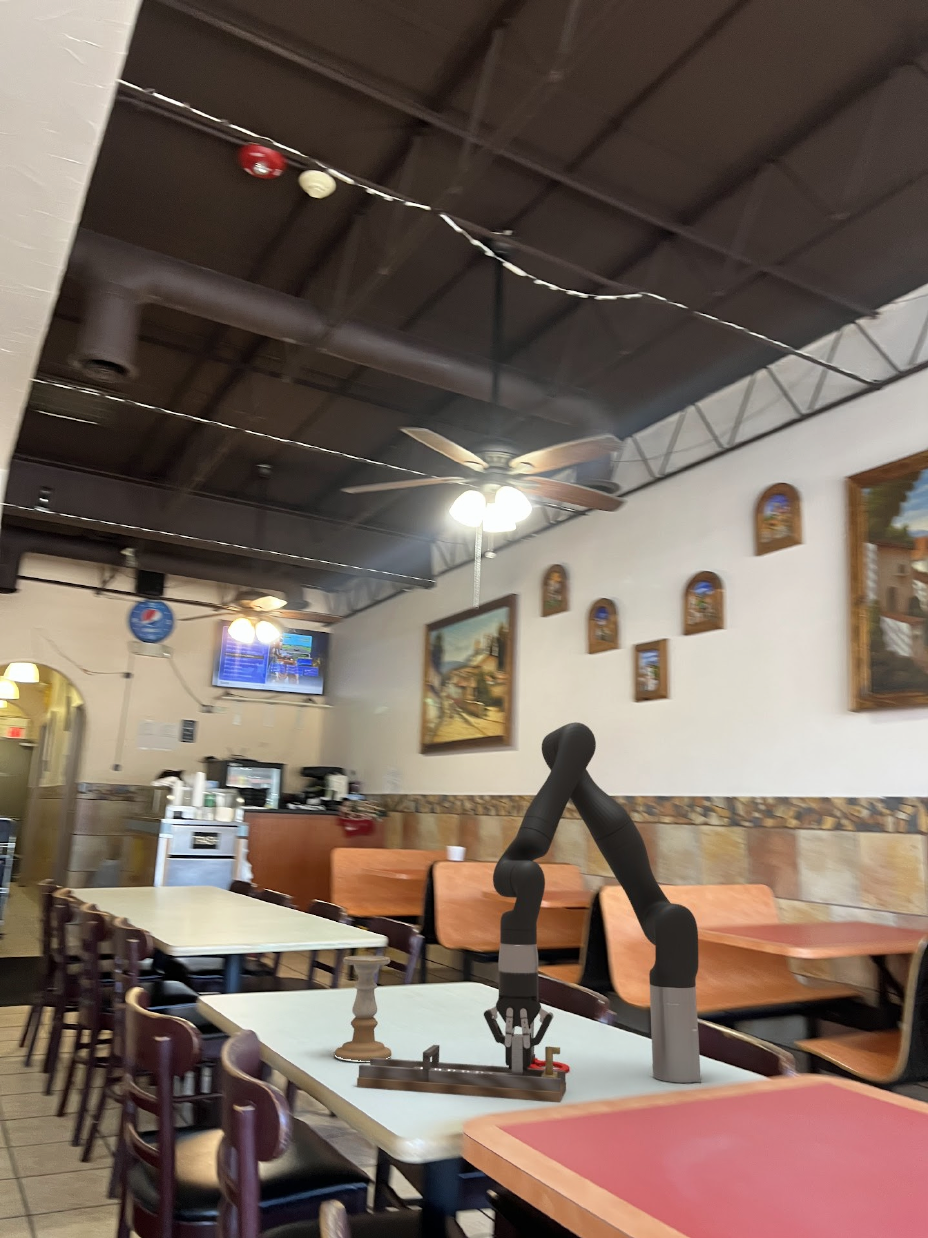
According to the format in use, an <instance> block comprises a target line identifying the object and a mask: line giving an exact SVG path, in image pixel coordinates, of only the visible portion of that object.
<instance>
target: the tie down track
mask: <svg viewBox="0 0 928 1238" xmlns="http://www.w3.org/2000/svg"><path fill="white" fill-rule="evenodd" d="M544 1052H545V1053H544V1055H545V1056H544V1057H545V1060H544V1061H545V1066H544V1068H545V1069H533V1068H528V1070H525V1076H520V1075H505V1074H491V1073H477V1072H462V1071H448V1070H433V1069H430V1068H441V1069H455V1070H469V1071H471V1070H472V1071H483V1072H485V1071H487V1072H498V1073H499V1072H501V1073H512V1069H509V1066H501V1065H488V1064H487V1065H486V1064H485V1065H483V1064H471V1063H469V1064H468V1063H457V1062H441V1061H440V1044H433V1045H431V1046H430V1047H428V1048H427V1049H426V1050H424V1051H423V1052H422V1060H413V1059H412V1060H411V1059H410V1060H409V1059H408V1060H407V1059H396V1058H389V1059H384V1058H371V1059H370V1062H369V1064H359V1065H358V1077H356V1087H357V1088H365V1089H366V1088H367V1089H379V1090H380V1089H381V1090H391V1091H392V1090H394V1091H406V1092H418V1093H420V1092H421V1093H422V1092H423V1093H433V1094H434V1093H435V1094H447V1095H460V1096H462V1095H463V1096H474V1097H484V1098H486V1097H487V1098H499V1099H513V1100H525V1101H539V1102H550V1103H551V1102H552V1103H554V1102H555V1103H561V1101H562V1099H563V1097H564V1095H565V1093H566V1092H567V1081H566V1076H567V1075H566V1073H565V1071H562V1070H553V1069H554V1067H553V1061H554V1055H560V1054H561V1047H558V1046H557V1047H556V1046H545V1047H544ZM414 1067H422V1069H419V1068H414Z"/></svg>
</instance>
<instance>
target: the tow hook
mask: <svg viewBox="0 0 928 1238" xmlns="http://www.w3.org/2000/svg"><path fill="white" fill-rule="evenodd" d="M534 1030H535V1020H534V1021H533V1022H532V1024H531V1036H532V1038H534V1037H535V1036H534V1032H535V1031H534ZM528 1068H533V1069H545V1060H541V1059H538V1058H537V1057H536V1054H535V1046H533V1047H532V1063H531V1066H530V1067H528ZM570 1068H571V1067H570V1066H569V1065H568V1064H566V1063H564V1062H563V1063H562V1062H560V1061H554V1060H553V1070H562V1071H565V1074H568V1073H570Z"/></svg>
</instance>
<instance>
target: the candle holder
mask: <svg viewBox="0 0 928 1238" xmlns="http://www.w3.org/2000/svg"><path fill="white" fill-rule="evenodd" d="M390 962H391V958H390V957H388V956H383V955H380V956H379V955H351V956H345V957H343V964H346V965H349V966H353V967H354V970H355V972H356V974H357V976H358V979H357V981H356V983H354V985H353V986H354V988H355V990H356V996H355V999H354V1002H353V1006H352V1014H353V1015H354V1018H352V1020H351V1021H350V1025H351V1027H352V1028H353V1033H352V1039H351V1040H349V1041H346V1042H344V1043H342V1046H339V1047H337V1048H336V1049H335V1050H334V1053H335V1055H336V1056H337V1057H341V1058H343V1059H351V1060H358V1061H360V1060H361V1061H370V1059H371V1058H384V1059H386V1058H388V1057H390V1056H391V1057H392V1050H391V1048H389V1047H387V1046H385V1043H383V1042H381V1041H377V1040H376V1039H375V1038H376V1037H375V1028H377V1026H378V1024H379V1023H378V1020H377V1019H376V1018H375V1016H376V1015H377V1014H378V1006H377V1001H376V994H375V989H377V988H378V985H377V983H376V982H375V979H374V978H375V974H376V973H377V972H378V971H379V968H380V967H381V966H384V965H385V966H386V965H388V964H390ZM391 1057H390V1058H391Z"/></svg>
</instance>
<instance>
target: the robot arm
mask: <svg viewBox="0 0 928 1238" xmlns="http://www.w3.org/2000/svg"><path fill="white" fill-rule="evenodd" d="M596 748H597V741H596V737H595V734H594V732H593V730H591V729H590V727H589V726H587V725H585V724H584V723H581V722H570V723H567V724H564V725H563V726H561V727H558V728H556V729H555V730H554V731H551V732H550V733H547V734H546V735H545V736H544V737H543V740H542V743H541V754H542V757H543V760H544V761H545V764H546V765H547V767H548V768H549V771H550V773H549V774H548V776H547V778H546V779H545V781H544V783H543V785H542V786H541V787H540V789H539V790H538V792H537V794H536V795H535V796H534V798H533V799H532V801H531V803H530V804H529V806H528V808H527V809H526V811H525V814H524V815H523V817H522V821H521V824H520V826H519V828H518V831H517V834H516V836H515V837H514V839H513V840H512V841H511V843H510V844H509V845H508V847H507V848H506V849H505V851H504V852H503V853H502V855H501V856H500V858H499V859H498V861H497V862H496V865H495V867H494V870H493V874H492V884H493V887H494V889H495V892H496V893H497V894H498V895H500V897H501V896H502V897H504V898H515V902H514V905H513V908H512V909H511V910H509V911H505V912H503V913H502V914H501V918H500V922H499V923H500V926H499V927H500V933H499V936H500V942H499V943H500V945H499V953H498V963H497V967H498V999H497V1001H496V1002H495V1006H494V1007H492V1008H490V1009H487V1010H484V1012H483V1018H484V1019H485V1021H486V1024H487V1026H488V1027H489V1031H490V1032H491V1034H492V1036H493V1038H494V1040H495V1043H496V1044H497V1043H498V1044H501V1045H503V1046H504V1048H505V1054H504V1055H505V1058H504V1059H505V1060H504V1061H505V1065H506V1066H505V1067H509V1069H512V1036H513V1035H514V1034H515V1031H516V1027H518V1028H521V1034H523V1043H524V1048H523V1070H528V1067H530V1066H531V1063H532V1047H533V1046H534V1047H535V1046H539V1045H540V1043H542V1040H543V1038H544V1036H545V1035H546V1033H547V1030H548V1029H549V1027H550V1024H551V1023H552V1020H553V1019H554V1014H553V1013H552V1012H549V1011H547V1010H545V1009H543V1007H542V1004H541V1002H540V1001H539V1000H540V999H539V953H538V945H537V941H538V939H537V938H538V937H537V936H538V932H537V929H538V927H537V925H538V924H537V922H538V917H539V914H540V910H541V907H542V902H543V897H544V893H545V887H546V876H545V874H544V871H543V869H542V867H541V865H540V864H539V863H537V862H536V861H534V860H537V859H540V858H543V857H545V856H546V855H547V854H548V852H549V850H550V848H551V846H552V845H551V844H552V843H553V839H554V837H555V834H556V831H557V829H558V826H559V824H560V821H561V818H562V816H563V813H564V812H565V809H566V807H567V806H568V802H569V800H570V801H571V802H572V803H573V805H574V808H575V809H576V810H577V812H578V814H579V816H580V817H581V819H582V820H583V822H584V824H585V826H586V828H587V830H588V832H589V833H590V835H591V837H592V839H593V841H594V843H595V844H596V846H597V848H598V850H599V851H600V853H601V855H602V856H603V858H604V860H605V861H606V863H607V865H608V866H609V868H610V870H611V871H612V873H613V875H614V877H615V878H616V880H617V882H618V884H619V885H620V886H621V889H623V891H624V893H625V895H626V897H627V898H628V901H629V902H630V905H631V907H632V909H633V912H634V914H635V917H636V918H637V921H638V923H639V924H638V925H640V929H641V930H642V932H643V935H644V936H645V938H646V939H647V940H648V941H649V942H650V944H652V945H654V946H655V949H654V950H655V954H654V955H655V960H654V964H653V966H652V967H651V968H650V970H649V977H648V978H649V980H648V981H649V997H650V998H649V1001H650V1002H649V1004H650V1028H651V1030H650V1031H651V1052H652V1053H651V1054H652V1055H651V1056H652V1076H653V1078H655V1079H657V1080H660V1081H664V1082H671V1083H702V1082H701V1081H702V1080H701V1062H700V1060H701V1059H700V1042H699V1041H700V1040H699V1027H698V1026H699V1024H698V1006H697V1005H698V1004H697V987H696V985H697V982H696V981H697V980H696V979H697V975H698V971H699V963H700V962H699V932H698V924H697V920H696V918H695V916H694V914H693V913H692V911H691V910H690V909H689V908H688V907H686V906H684V905H682V904H680V903H679V904H678V903H671V901H670V900H669V899H668V897H667V896H666V894H665V893H664V891H663V889H662V887H660V885H659V883H658V882H657V880H656V878H655V876H654V874H653V871H652V867H651V862H650V860H649V855H648V854H649V853H648V850H647V847H646V843H645V841H644V839H643V837H642V835H641V833H640V831H639V829H638V827H637V826H636V824H635V822H634V821H633V819H632V817H631V815H630V813H628V811H627V810H626V809H625V808H624V807H623V806H622V805H621V804H620V803H619V802H618V801H616V799H614V798H613V797H611V796H610V795H609V794H608V793H607V792H606V791H604V790H603V789H602V788H600V787H599V786H598V785H597V783H596V782H595V781H594V779H593V778H592V777H591V775H590V773H589V772H588V770H587V767H588V765H589V764H590V762H591V760H592V759H593V756H594V755H595V751H596ZM498 1014H499V1015H500V1017H501V1018H502V1020H503V1022H504V1023H505V1030H504V1034H505V1035H504V1034H503V1031H502V1029H501V1027H500V1025H499V1023H498V1021H497V1019H498ZM538 1015H539V1023H541V1025H540V1027H539V1028H538V1030H537V1032H536V1034H535V1036H534V1038H532V1036H531V1024H532V1022H533V1021H534V1022H535V1019H536V1018H537V1017H538Z"/></svg>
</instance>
